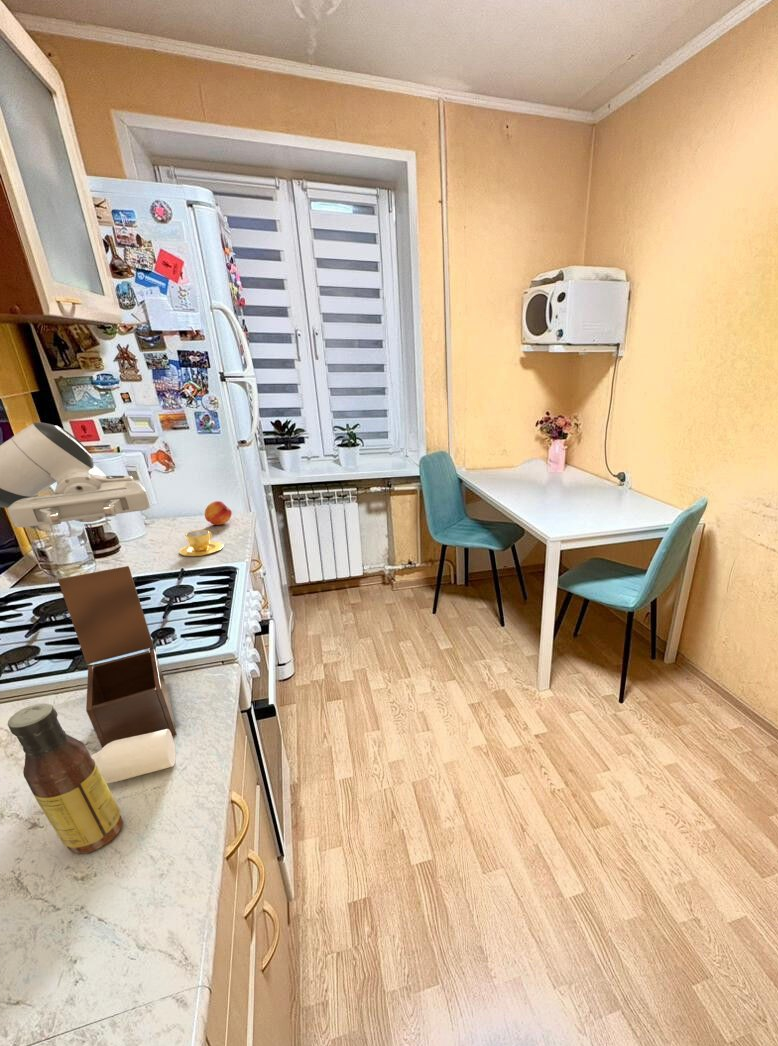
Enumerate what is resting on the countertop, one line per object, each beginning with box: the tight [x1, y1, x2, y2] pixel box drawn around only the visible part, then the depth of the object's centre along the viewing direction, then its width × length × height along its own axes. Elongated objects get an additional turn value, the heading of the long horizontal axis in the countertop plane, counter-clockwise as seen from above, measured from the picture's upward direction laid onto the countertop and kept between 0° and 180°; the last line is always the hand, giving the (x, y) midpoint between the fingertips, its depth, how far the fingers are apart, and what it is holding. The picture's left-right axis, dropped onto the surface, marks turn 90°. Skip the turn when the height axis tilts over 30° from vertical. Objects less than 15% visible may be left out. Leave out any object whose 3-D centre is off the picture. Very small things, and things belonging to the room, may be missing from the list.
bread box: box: [85, 649, 177, 749], centre depth 83 cm, size 13×9×9 cm
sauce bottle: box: [7, 702, 124, 854], centre depth 61 cm, size 6×6×20 cm
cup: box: [178, 529, 224, 557], centre depth 155 cm, size 12×12×5 cm
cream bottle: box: [90, 729, 176, 784], centre depth 74 cm, size 6×12×6 cm, turn 114°
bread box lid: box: [57, 565, 154, 665], centre depth 84 cm, size 14×9×1 cm
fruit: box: [204, 500, 233, 526], centre depth 177 cm, size 8×8×8 cm
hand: (82, 516), depth 88 cm, fingers open, 6 cm apart
